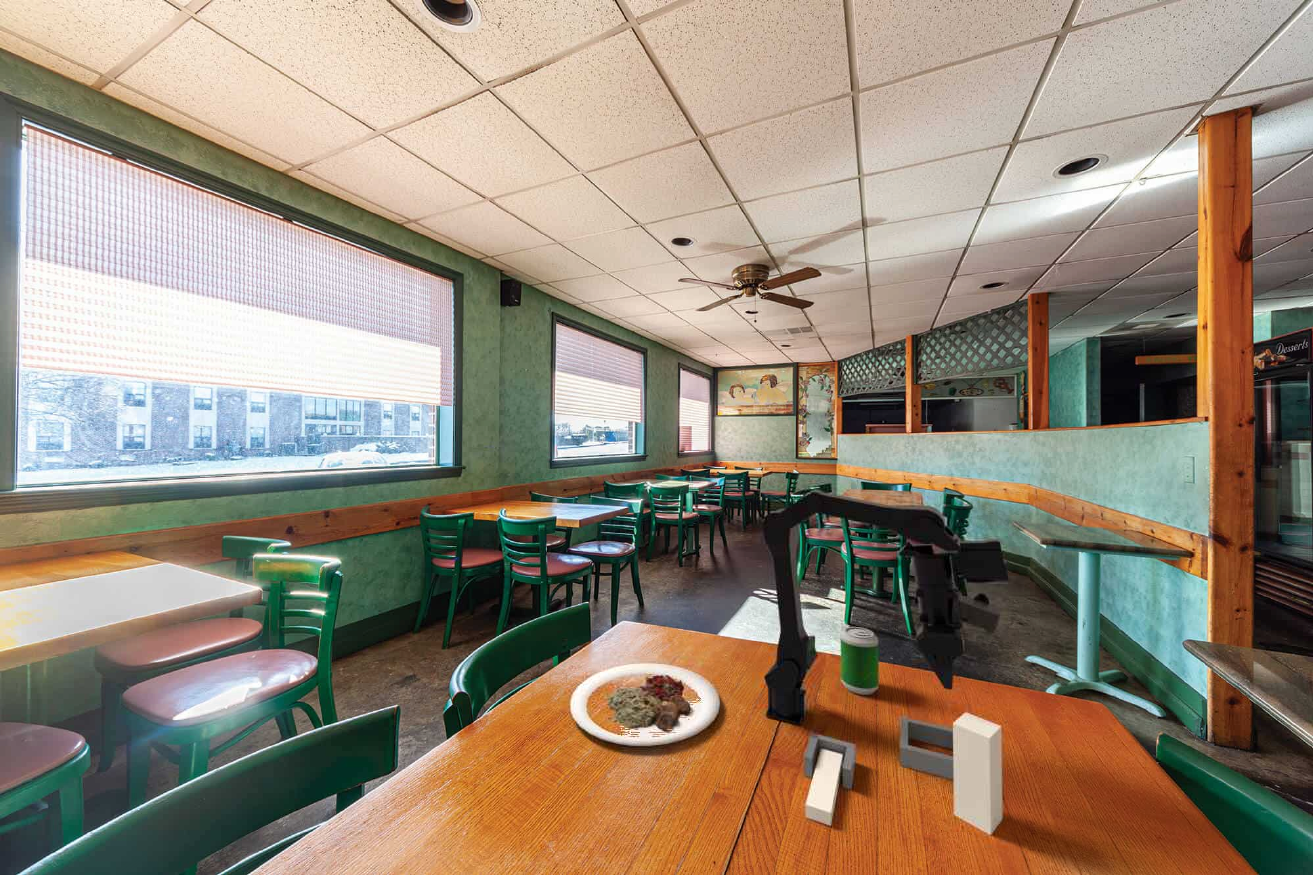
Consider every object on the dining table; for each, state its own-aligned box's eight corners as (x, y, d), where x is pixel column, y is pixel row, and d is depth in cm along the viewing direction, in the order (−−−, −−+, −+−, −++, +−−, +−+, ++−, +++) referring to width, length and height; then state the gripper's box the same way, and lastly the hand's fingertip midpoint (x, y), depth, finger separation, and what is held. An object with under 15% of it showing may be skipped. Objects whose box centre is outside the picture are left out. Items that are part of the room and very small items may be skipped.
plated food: (548, 748, 84) (548, 728, 84) (591, 668, 114) (591, 653, 114) (721, 760, 81) (720, 740, 81) (719, 674, 111) (718, 660, 111)
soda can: (882, 698, 100) (882, 640, 100) (844, 694, 101) (843, 637, 101) (874, 680, 107) (873, 626, 107) (838, 677, 108) (837, 624, 109)
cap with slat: (792, 812, 69) (792, 791, 69) (811, 750, 83) (811, 732, 83) (844, 830, 66) (844, 808, 66) (855, 762, 80) (855, 744, 80)
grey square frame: (899, 765, 79) (899, 746, 79) (900, 732, 88) (900, 716, 88) (971, 784, 74) (971, 765, 74) (964, 748, 83) (964, 731, 83)
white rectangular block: (954, 814, 69) (952, 722, 69) (966, 800, 71) (965, 712, 71) (990, 835, 65) (989, 738, 65) (1002, 818, 68) (1001, 726, 68)
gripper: (996, 599, 69) (1014, 711, 68) (988, 569, 85) (1002, 660, 84) (909, 596, 75) (924, 699, 74) (917, 568, 91) (929, 653, 90)
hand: (948, 676), depth 80 cm, fingers open, 9 cm apart
